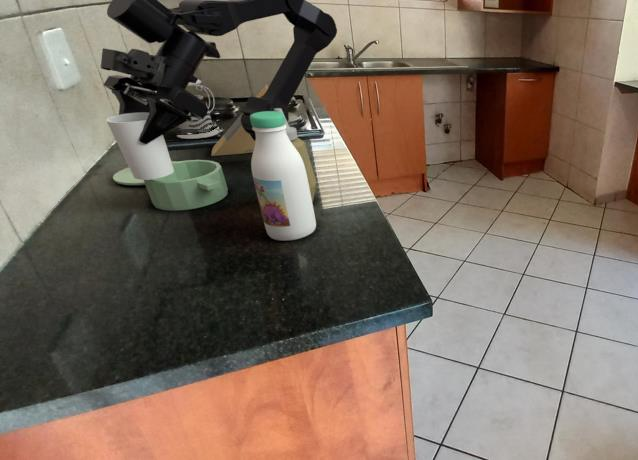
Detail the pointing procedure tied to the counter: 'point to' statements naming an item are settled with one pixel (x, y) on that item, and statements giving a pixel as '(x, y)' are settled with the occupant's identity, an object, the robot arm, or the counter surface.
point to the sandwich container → (236, 138)
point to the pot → (188, 186)
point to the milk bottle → (280, 180)
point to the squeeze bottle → (301, 154)
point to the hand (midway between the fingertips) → (130, 139)
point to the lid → (128, 177)
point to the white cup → (140, 147)
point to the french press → (200, 121)
